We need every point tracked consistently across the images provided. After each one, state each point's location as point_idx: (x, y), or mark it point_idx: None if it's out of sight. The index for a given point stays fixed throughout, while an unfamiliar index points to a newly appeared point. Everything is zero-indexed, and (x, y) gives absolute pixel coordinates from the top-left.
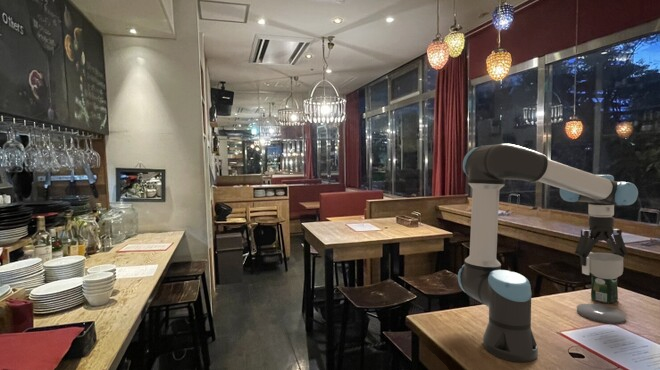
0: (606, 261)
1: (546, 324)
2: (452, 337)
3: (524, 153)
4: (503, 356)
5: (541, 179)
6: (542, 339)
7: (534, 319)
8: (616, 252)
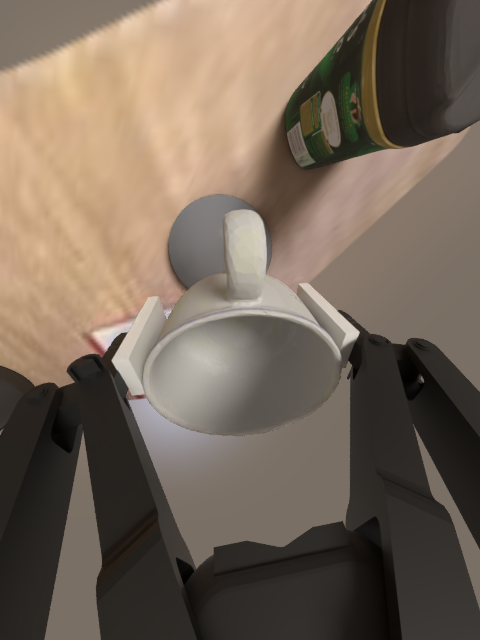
0: (203, 428)
1: (67, 304)
2: None
3: None
4: None
5: None
6: (50, 358)
7: (38, 280)
8: (353, 383)
